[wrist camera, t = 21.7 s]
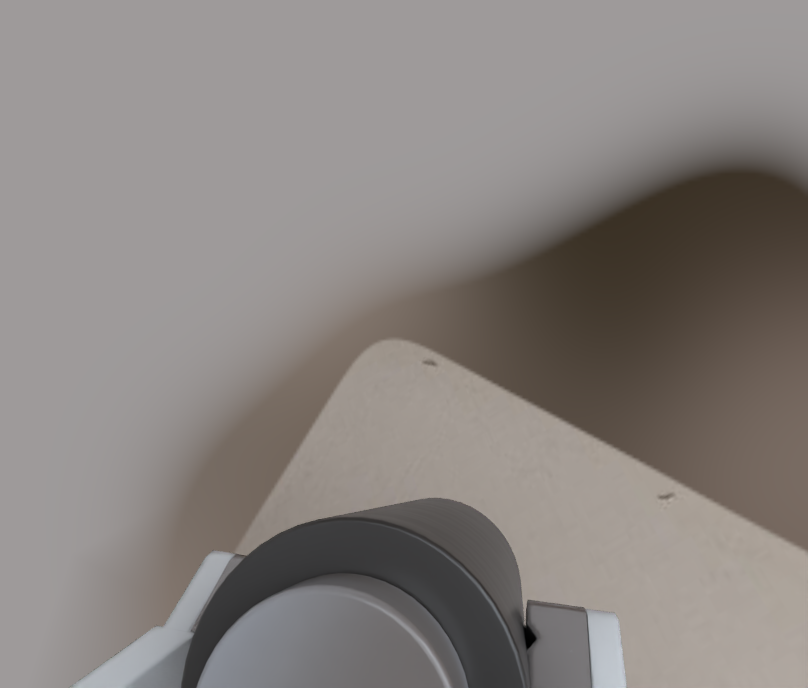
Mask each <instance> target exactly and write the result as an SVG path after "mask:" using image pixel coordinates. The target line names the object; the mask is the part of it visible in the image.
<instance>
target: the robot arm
mask: <svg viewBox="0 0 808 688" xmlns="http://www.w3.org/2000/svg"><path fill="white" fill-rule="evenodd" d="M245 557H246V556H244V555H239V554H235V553H228V552H221V551H215V550H213V551H212V552H211V553H210V554H209V555H208V556H206V557H205V559H204V560H203V562H202V564H201V565H200V567H199V569H198V570H197V572H196V574H195V575H194V577H193V578H192V580H191V582H190V583H189V585H188V587H187V589H186V590H185V592H184V593H183V595H182V597H181V598H180V600H179V602H178V603H177V605H176V607H175V608H174V610H173V611H172V613H171V615H170V616H169V618H168V620H167V621H166V623H165V625H164V626H155V627H154V628H152V629H151V630H149V631H148V632H147V633H145V634H144V635H142V636H141V637H140V638H138V639H137V640H135V641H134V642H133V643H131V644H130V645H128V646H127V647H125V648H124V649H123V650H121V651H120V652H118V653H117V654H115V655H114V656H113V657H111V658H110V659H108V660H107V661H106V662H104V663H103V664H101V665H100V666H99V667H97V668H96V669H94V670H93V671H92V672H90V673H89V674H87V675H86V676H84V677H83V678H82V679H80V680H79V681H78V682H76V683H75V684H73V685H72V686H70V687H69V688H181V682H182V677H183V672H184V667H185V661H186V657H187V654H188V651H189V648H190V644H191V641H192V638H193V635H194V633H195V630H196V628H197V626H198V623H199V621H200V619H201V617H202V614H203V612H204V610H205V609H206V607H207V605H208V603H209V602H210V600H211V598H212V597H213V595H214V593H215V592H216V590H217V589H218V588H219V586H220V585H221V584H222V582H223V581H224V580H225V578H226V577H227V576H228V574H229V573H230V572H231V571H232V570H233V569H234V568H235V567H236V566H237V565H238V564H239V563H240V562H241V561H242V560H243V559H244V558H245ZM525 638H526V647H527V658H528V669H529V680H530V688H627V685H626V676H625V668H624V659H623V651H622V643H621V634H620V626H619V620H618V618H617V616H616V614H615V613H612V612H605V611H598V610H591V609H585V608H583V607H576V606H569V605H562V604H555V603H547V602H540V601H533V600H528V601H527V609H526V626H525Z"/></svg>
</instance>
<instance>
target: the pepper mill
mask: <svg viewBox="0 0 808 688" xmlns="http://www.w3.org/2000/svg"><path fill="white" fill-rule="evenodd" d="M181 688H530V680H529V669H528V658H527V647H526V638H525V625H524V613H523V602H522V591H521V580H520V574H519V569H518V565H517V562H516V559H515V556H514V554H513V552H512V549H511V547H510V545H509V544H508V542H507V540H506V538H505V537H504V535H503V534H502V533H501V532H500V530H499V529H498V528H497V527H496V526H495V525H494V524H493V523H492V522H491V521H490V520H489V519H488V518H487V517H486V516H484V515H483V514H482V513H481V512H479V511H477V510H476V509H474V508H472V507H470V506H468V505H466V504H463V503H461V502H457V501H454V500H450V499H442V498H428V499H420V500H415V501H410V502H405V503H400V504H395V505H389V506H384V507H379V508H374V509H369V510H364V511H359V512H354V513H349V514H344V515H339V516H333V517H328V518H323V519H318V520H315V521H311V522H308V523H304V524H301V525H297V526H295V527H293V528H291V529H288V530H286V531H284V532H281V533H279V534H277V535H276V536H274V537H273V538H271V539H269V540H268V541H266V542H264V543H263V544H261V545H260V546H258V547H257V548H256V549H255V550H254V551H252V552H251V553H250V554H249V555H247V556H246V557H245V558H244V559H243V560H242V561H241V562H240V563H239V564H238V565H237V566H236V567H235V568H234V569H233V570H232V571H231V572H230V573H229V574H228V576H227V577H226V578H225V580H224V581H223V582H222V584H221V585H220V586H219V588H218V589H217V590H216V592H215V593H214V595H213V597H212V598H211V600H210V602H209V603H208V605H207V607H206V609H205V610H204V612H203V614H202V617H201V619H200V621H199V623H198V626H197V628H196V630H195V633H194V635H193V638H192V641H191V644H190V648H189V651H188V654H187V657H186V661H185V667H184V672H183V677H182V682H181Z"/></svg>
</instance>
